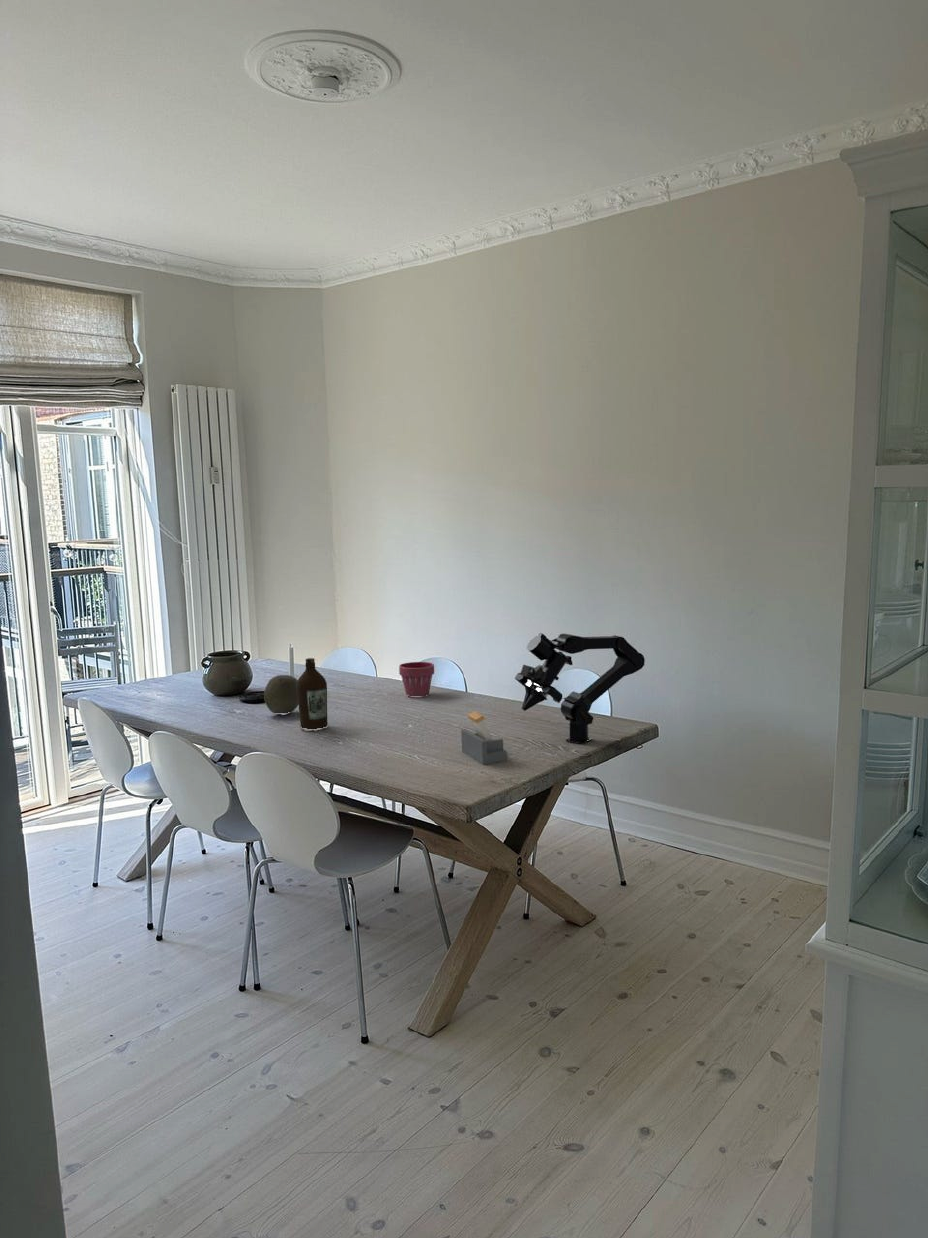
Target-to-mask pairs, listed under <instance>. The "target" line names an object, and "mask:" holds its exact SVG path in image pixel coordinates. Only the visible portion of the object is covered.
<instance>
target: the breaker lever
mask: <svg viewBox="0 0 928 1238" xmlns="http://www.w3.org/2000/svg"><path fill="white" fill-rule="evenodd" d="M467 717H468V719H469V720H470V721H471V723H472V725H473V728H474V730H475V733H477V735H478V736H479V737H480V738H482V739H484V740H485V741H488V740H493V737H492V735H491V733H490V731H489V729H488V726H487V724H486V722H485V717H484V715H483V714H480V713H479V712H477V711H475V710H474V711H472V712H470V713H468V714H467Z"/></svg>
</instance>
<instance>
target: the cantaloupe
mask: <svg viewBox="0 0 928 1238" xmlns="http://www.w3.org/2000/svg"><path fill="white" fill-rule="evenodd" d="M297 681H298V678H296V677H294V676H292V675H287V674H280V675H279V674H278V675H275V676H273V677H271V679H269V681H268V682H267V683H266V686H265V689H264V692H263V693H264V694H263V701H264V703H265V705H266V707H267V709H268V710H269V711H270V712H272V714H275V713H288V712H291V713H292V711H293V712H294V711H295V710H296V709H297V707H299V705H298V697H297V689H296V685H297Z"/></svg>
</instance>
